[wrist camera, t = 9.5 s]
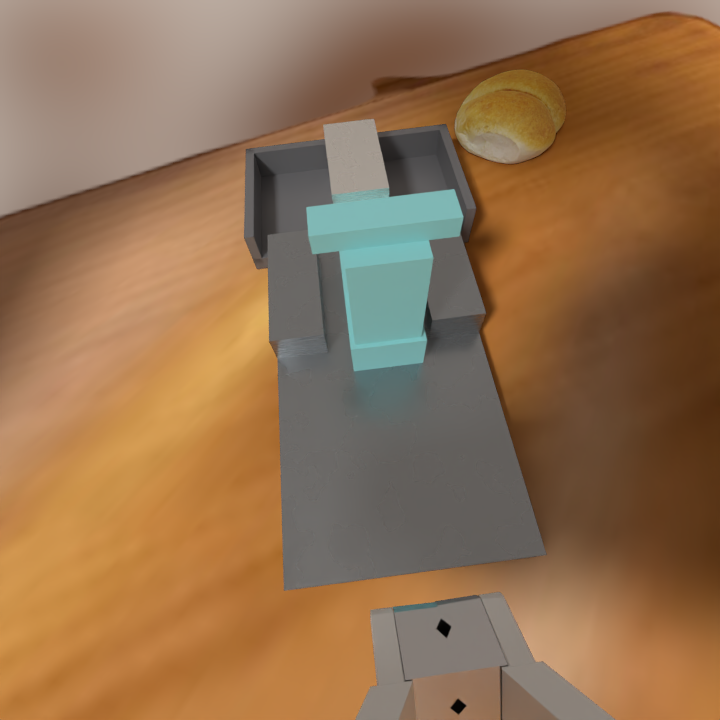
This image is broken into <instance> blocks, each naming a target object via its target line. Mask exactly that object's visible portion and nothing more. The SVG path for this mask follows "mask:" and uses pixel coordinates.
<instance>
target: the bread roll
mask: <svg viewBox="0 0 720 720" xmlns="http://www.w3.org/2000/svg"><path fill="white" fill-rule="evenodd" d="M565 117H566V105H565V101H564V98H563V95H562V93H561V91H560V89H559V88H558V86H557V85H556V84H555V83H554V82H553V81H552V80H550V79H549V78H547V77H546V76H544V75H542V74H540V73H537V72H534V71H530V70H523V69H520V70H511V71H507V72H503V73H500V74H497V75H495V76H493V77H491V78H489V79H487V80H485V81H483V82H481V83H480V84H479V85H478V86H476V87H475V88H474V89H473V90H472V92H471V93H470V94H469V95H468V96H467V97H466V99H465V100H464V102H463V103H462V105H461V107H460V109H459V110H458V113H457V115H456V119H455V134H456V137H457V139H458V141H459V143H460V144H461V146H462V147H463V148H465V149H466V150H467V151H468V152H469V153H471V154H474V155H476V156H479V157H482V158H484V159H487V160H489V161H494V162H497V163H504V164H516V163H521V162H523V161H526V160H529V159H532V158H534V157H536V156H539V155H540V154H541V153H543V152H544V151H545V150H546V149H547V148H548V147H549V146H550V145H551V144H552V143H553V141H554V139H555V135H556V132H557V131H558V130H559V129H560V127H561V126H562V125H563V123H564V120H565Z"/></svg>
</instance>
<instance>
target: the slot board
mask: <svg viewBox="0 0 720 720" xmlns="http://www.w3.org/2000/svg"><path fill="white" fill-rule="evenodd" d="M429 243H430V247H431V251H432V254H433V264H432V270H431V277H430V284H429V290H428V297H427V303H426V310H425V316H424V323H423V325H424V329H425V334H426V338H427V343H426V349H425V355H424V360H423V363H417V364H409V365H401V366H393V367H385V368H377V369H369V370H361V371H354V369H353V362H352V355H351V348H350V339H349V331H348V322H347V314H346V305H345V297H344V288H343V279H342V271H341V262H340V254H339V251H336V252H328V253H320V254H312V250H311V246H310V241H309V237H308V230H302V231H294V232H286V233H278V234H270V235H268V295H269V342H270V344H271V346H272V348H273V350H274V352H275V354H276V356H277V358H278V388H279V425H280V461H281V498H282V534H283V570H284V591H285V590H293V589H300V588H308V587H315V586H322V585H330V584H337V583H344V582H352V581H359V580H367V579H374V578H381V577H389V576H396V575H403V574H411V573H418V572H425V571H433V570H440V569H447V568H455V567H462V566H469V565H477V564H484V563H491V562H499V561H506V560H513V559H521V558H528V557H535V556H543V555H547V554H546V551H545V548H544V545H543V541H542V538H541V535H540V532H539V528H538V525H537V522H536V518H535V515H534V512H533V509H532V505H531V502H530V499H529V495H528V492H527V489H526V486H525V482H524V479H523V476H522V472H521V469H520V466H519V463H518V459H517V456H516V453H515V449H514V446H513V443H512V440H511V436H510V433H509V430H508V426H507V423H506V420H505V417H504V413H503V410H502V407H501V403H500V400H499V397H498V394H497V390H496V387H495V384H494V380H493V377H492V374H491V371H490V367H489V364H488V361H487V357H486V354H485V351H484V348H483V344H482V341H481V338H480V334H479V331H480V328H481V326H482V323H483V321H484V318H485V315H486V311H485V308H484V305H483V301H482V298H481V295H480V292H479V289H478V286H477V283H476V280H475V277H474V274H473V271H472V267H471V264H470V261H469V258H468V255H467V252H466V249H465V246H464V243H463V240H462V236H461V233H460V236H459V237H451V238H443V239H434V240H429Z"/></svg>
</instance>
